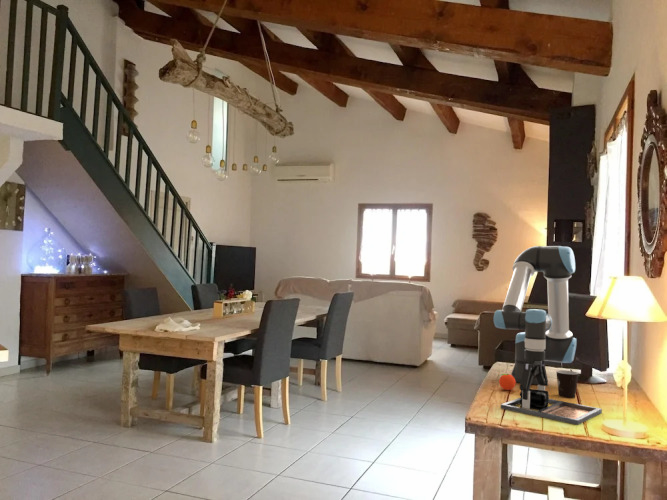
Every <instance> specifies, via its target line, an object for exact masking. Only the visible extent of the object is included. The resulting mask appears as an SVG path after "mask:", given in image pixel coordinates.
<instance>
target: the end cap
mask: <svg viewBox="0 0 667 500" xmlns="http://www.w3.org/2000/svg"><path fill="white" fill-rule="evenodd" d="M529 391H530V409H529V410H534V411H538V410H541V409H543V408H546V407H548V406H549V404H550V403H549V399H550V393H549V391H548V390H545V391H543V390H538V389H535V388H530V389H529ZM519 396H520V398H521V399H520V400H519V401H520V404H519V407H520V408H522V390H520V392H519Z"/></svg>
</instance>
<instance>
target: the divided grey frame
mask: <svg viewBox="0 0 667 500" xmlns="http://www.w3.org/2000/svg"><path fill="white" fill-rule="evenodd" d="M520 399H521V397H518V398H515V399H512V400H510V401H507V402H504V403H501V404H500V409H501V410H507V411H512V412H516V413H520V414H525V415H531V416H534V417H539V418H544V419H548V420H554V421H558V422H562V423H568V424H570V425H571V424H572V425H576V426H578V425H581V424H582V423H585V422H586V421H589V420H590V419H593V418H594V417H596V416H599V415H600V414H603V413H602V412H603V409H602V408H599V407H595V406H588V405H585V404H584V405H583V404H579V403H572V402H570V401H569V402H568V401H565V400H564V401H563V400H557V399H554V398H553V399H552V398H549V403H548V404H550V405H548V407H546V408H543V409H541V410H535V409H527V408H521V407H520V406H519V407H518V406H517V405H521V404H520V401H519V400H520Z"/></svg>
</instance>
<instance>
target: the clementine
mask: <svg viewBox="0 0 667 500" xmlns="http://www.w3.org/2000/svg"><path fill="white" fill-rule="evenodd" d="M499 376H500V377H499ZM498 377H499V380H498V383H499V386H500V387H501V389H503V390H504V391H511V390H514V388H515V387H516V384H517V382H516V381H515V378H514V377H513V376H512V375H511V374H509V373H502V374H499V375H498Z"/></svg>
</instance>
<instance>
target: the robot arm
mask: <svg viewBox="0 0 667 500" xmlns="http://www.w3.org/2000/svg"><path fill="white" fill-rule="evenodd" d="M511 268H512V272H513V273H512V277H511V280H510V283H509V286H508V289H507V293H506V296H505V299H504V302H503V305H502V309H497V310H495V311H494V314H493V324H494V327H495V328H497V329H502V330H516V331H518V330H519V331H523V332H518V333H517V334H516V335H515V342H514V344H515V345H514V346H515V349H514V350H515V352H514V353H515V354H514V365H513V368H512V371H511V374H510V375H512V376H513V377H514V378H515V381H516V383H518V384H519V388H518V389H519V390H520V391H521V390H522V408H524V409H529V410H531V409H530V391H529V389H531V386H532V385H537V390H543V391H546V387H548V386H549V383H548V382H549V379H548V374H547V370H546V369H547V368H546V362H554V363H561V364H563V363H564V364H571V363H573V361H574V360H575V359H574V358H575V355H576V350H577V344H578V343H577V342H578V341H577V340H578V339H577V337H576V338H575V337H573V336H574V335H573V332H572V331H571V330H570V319H569V279H571V278H572V274H575V272H576V259H575V254H574V251H573V249H572V248H571V247H569V246H561V245H549V246H548V245H541V246H540V245H534V246H530V247H528V248H525V250H522V252H521V253H519V255H518V256H517V257H516V258H515V260H514V262H513V264H512V267H511ZM535 273H543V277H544V278H545V279H546V280H547V281H546V282H547V311H546V310H544V309H539V308H538V309H536V308H529V309H526V311H522V309H523V306H524V302H525V298H526V295H527V292H528V287H529V285H530V280H531V278H532V277H533V275H534V274H535ZM547 312H548V313H547Z"/></svg>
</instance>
